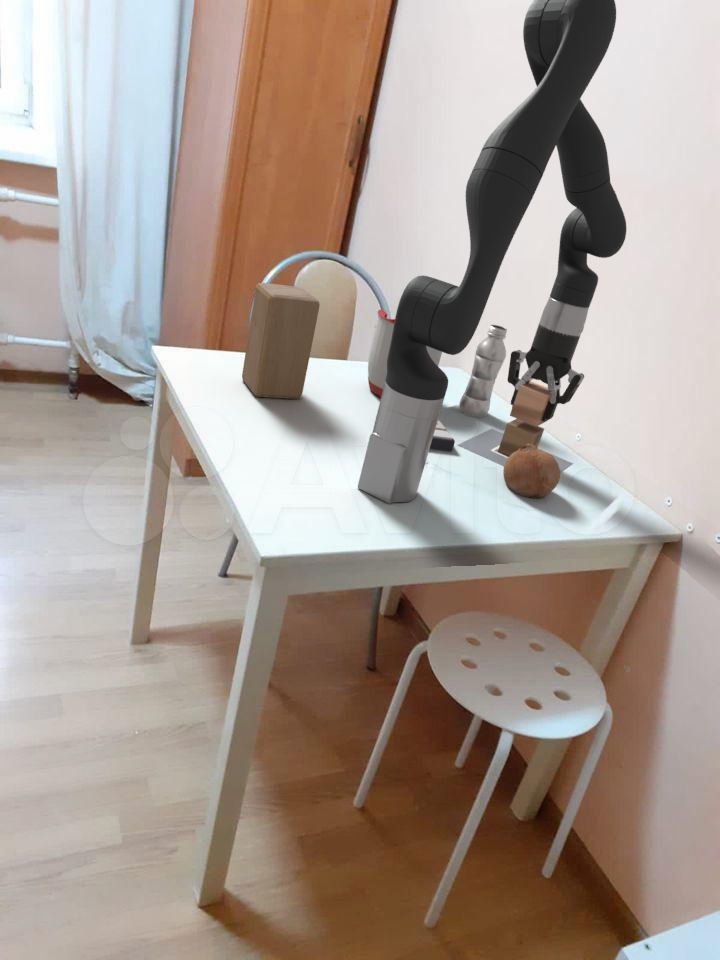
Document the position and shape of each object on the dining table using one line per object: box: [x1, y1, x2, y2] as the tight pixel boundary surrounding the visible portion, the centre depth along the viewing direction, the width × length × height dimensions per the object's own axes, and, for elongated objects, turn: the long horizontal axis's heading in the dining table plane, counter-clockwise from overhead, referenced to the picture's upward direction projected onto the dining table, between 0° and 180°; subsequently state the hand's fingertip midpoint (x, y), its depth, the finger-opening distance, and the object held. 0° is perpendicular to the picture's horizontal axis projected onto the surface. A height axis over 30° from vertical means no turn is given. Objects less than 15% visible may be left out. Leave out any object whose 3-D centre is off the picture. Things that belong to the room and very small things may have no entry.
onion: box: [502, 443, 561, 500], centre depth 123 cm, size 10×9×10 cm
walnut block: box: [498, 418, 545, 457], centre depth 137 cm, size 6×6×6 cm
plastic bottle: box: [458, 324, 508, 419], centre depth 151 cm, size 6×7×20 cm
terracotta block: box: [509, 380, 550, 427], centre depth 133 cm, size 6×6×6 cm
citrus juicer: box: [367, 308, 443, 398], centre depth 154 cm, size 16×17×20 cm
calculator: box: [429, 420, 456, 453], centre depth 137 cm, size 11×4×15 cm
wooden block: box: [241, 282, 321, 400], centre depth 139 cm, size 10×10×20 cm
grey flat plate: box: [457, 428, 574, 474], centre depth 138 cm, size 16×18×1 cm
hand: (530, 414), depth 134 cm, fingers closed on terracotta block, 5 cm apart
